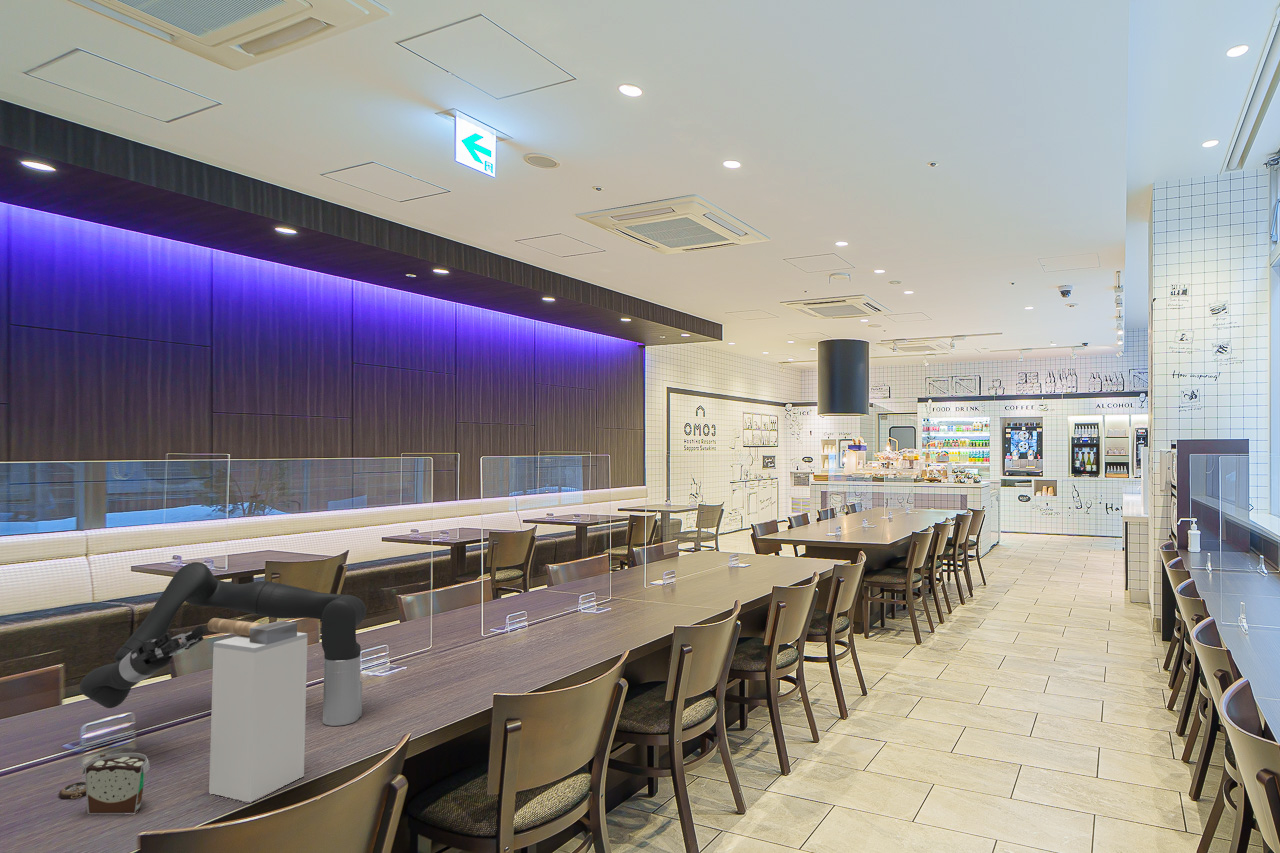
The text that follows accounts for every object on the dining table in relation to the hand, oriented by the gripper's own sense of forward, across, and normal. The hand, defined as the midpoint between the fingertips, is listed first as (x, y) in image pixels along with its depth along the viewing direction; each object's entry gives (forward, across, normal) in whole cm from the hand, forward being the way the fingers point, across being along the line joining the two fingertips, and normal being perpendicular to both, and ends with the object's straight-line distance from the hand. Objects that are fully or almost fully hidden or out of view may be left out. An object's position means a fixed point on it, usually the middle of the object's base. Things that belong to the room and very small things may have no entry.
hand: (187, 632), depth 174 cm
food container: (-8, -19, +31) cm, 37 cm away
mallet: (+19, -1, +9) cm, 21 cm away
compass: (-20, -18, +24) cm, 36 cm away
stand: (+7, -1, +39) cm, 39 cm away
